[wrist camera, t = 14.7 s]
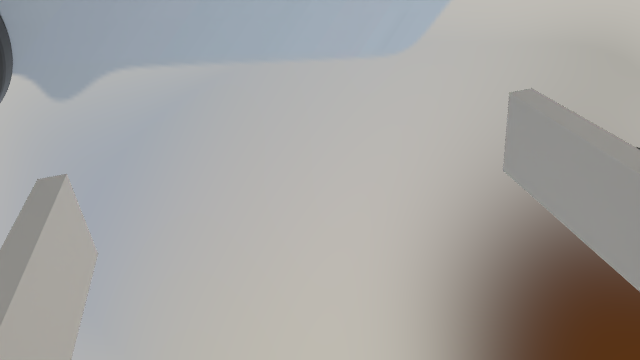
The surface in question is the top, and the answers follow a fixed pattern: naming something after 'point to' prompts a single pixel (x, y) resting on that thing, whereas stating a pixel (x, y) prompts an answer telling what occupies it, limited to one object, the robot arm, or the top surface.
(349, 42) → the top surface
